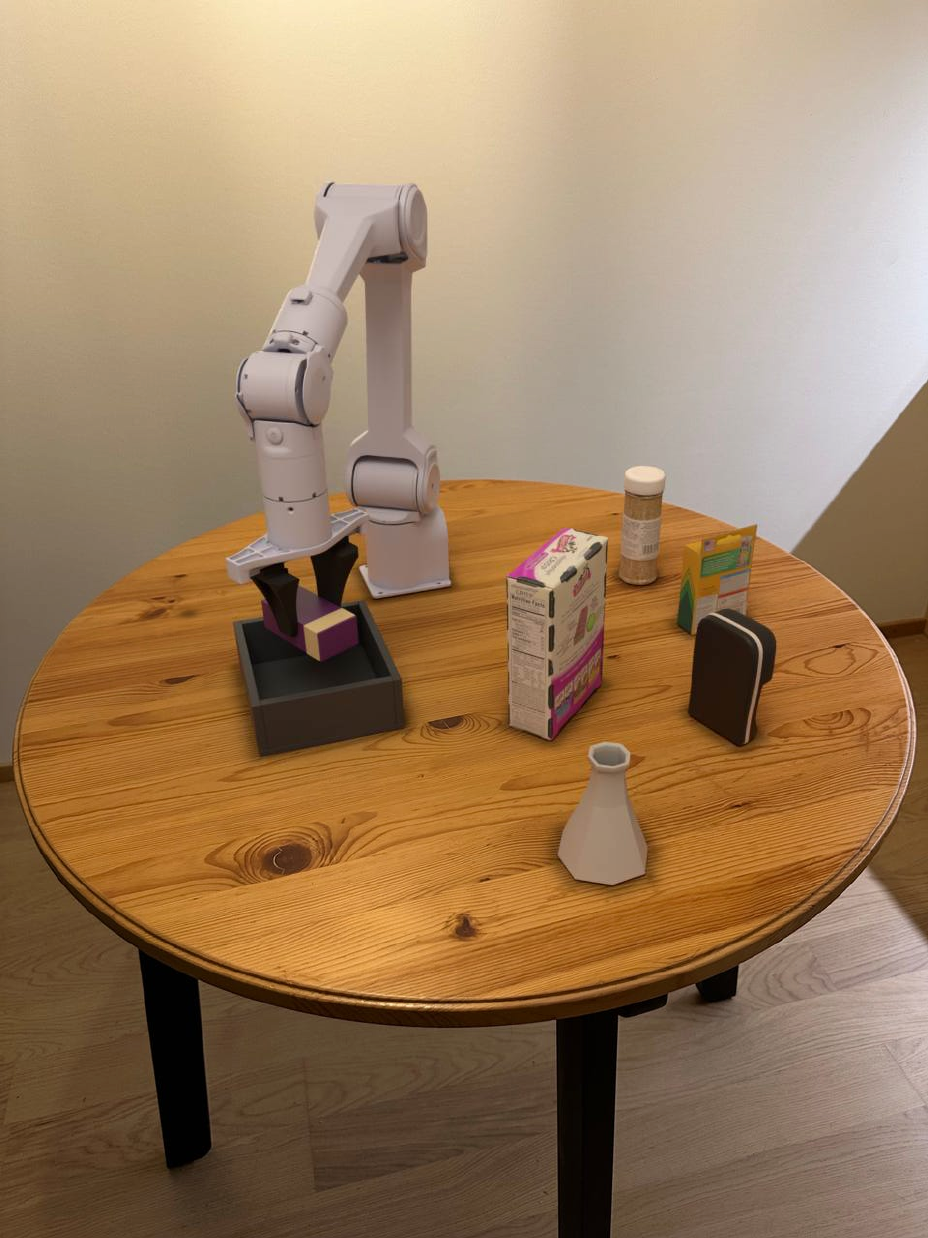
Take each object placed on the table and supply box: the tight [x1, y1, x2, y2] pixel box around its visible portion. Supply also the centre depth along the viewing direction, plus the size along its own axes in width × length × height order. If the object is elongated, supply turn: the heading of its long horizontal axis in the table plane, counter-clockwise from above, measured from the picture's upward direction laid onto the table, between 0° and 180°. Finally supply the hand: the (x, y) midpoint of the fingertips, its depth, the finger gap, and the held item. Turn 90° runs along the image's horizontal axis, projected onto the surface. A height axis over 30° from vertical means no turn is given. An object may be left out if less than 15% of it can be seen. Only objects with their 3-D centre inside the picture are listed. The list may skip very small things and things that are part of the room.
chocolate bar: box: [260, 584, 358, 662], centre depth 94 cm, size 4×9×3 cm, turn 45°
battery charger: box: [687, 608, 777, 746], centre depth 90 cm, size 7×4×11 cm, turn 35°
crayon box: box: [676, 523, 758, 637], centre depth 106 cm, size 7×3×12 cm, turn 115°
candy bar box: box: [505, 527, 609, 742], centre depth 92 cm, size 11×5×16 cm, turn 148°
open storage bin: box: [232, 599, 405, 758], centre depth 97 cm, size 14×16×6 cm
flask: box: [557, 741, 649, 886], centre depth 76 cm, size 7×7×10 cm
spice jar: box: [618, 465, 667, 586], centre depth 115 cm, size 5×5×14 cm
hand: (310, 622), depth 94 cm, fingers closed on chocolate bar, 4 cm apart
